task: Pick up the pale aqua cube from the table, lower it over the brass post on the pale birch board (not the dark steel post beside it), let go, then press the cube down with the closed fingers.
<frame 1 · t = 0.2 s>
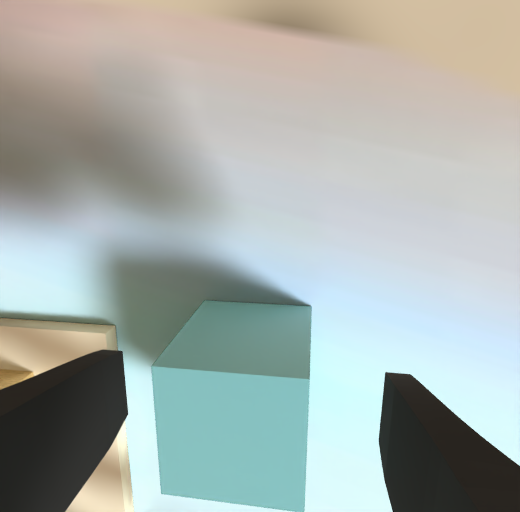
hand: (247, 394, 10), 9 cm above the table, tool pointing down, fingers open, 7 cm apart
brass post: (29, 380, 23), resting on birch board
birch board: (38, 436, 24), on the table
pale aqua cube: (256, 352, 20), on the table
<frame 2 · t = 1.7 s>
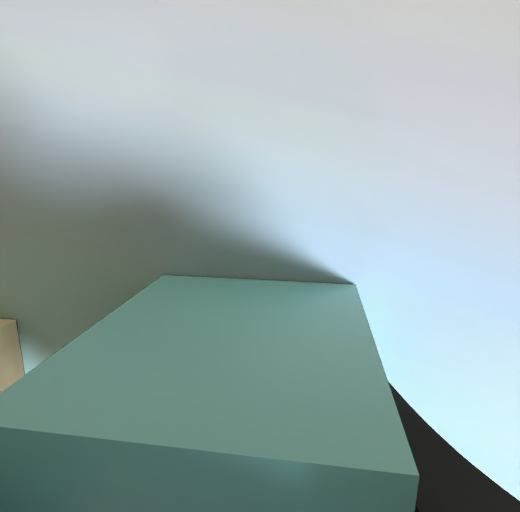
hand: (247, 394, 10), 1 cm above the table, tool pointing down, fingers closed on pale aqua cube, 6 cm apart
pale aqua cube: (255, 366, 11), on the table, touching gripper
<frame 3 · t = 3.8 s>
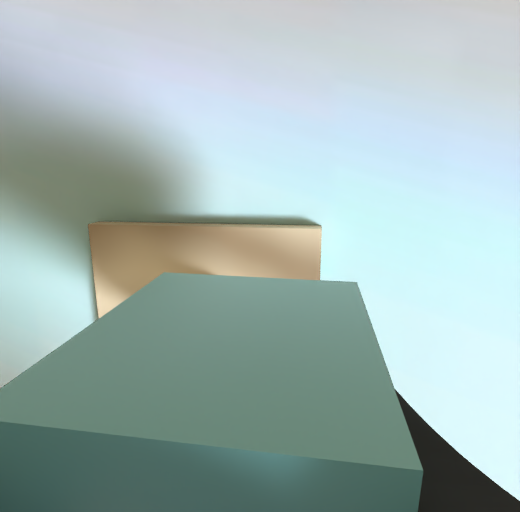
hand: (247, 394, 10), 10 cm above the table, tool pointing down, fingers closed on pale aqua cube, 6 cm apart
birch board: (210, 361, 21), on the table
pale aqua cube: (256, 364, 11), point 9 cm above the table, touching gripper
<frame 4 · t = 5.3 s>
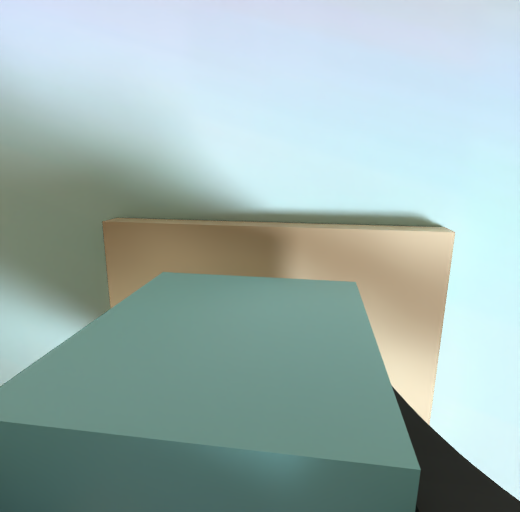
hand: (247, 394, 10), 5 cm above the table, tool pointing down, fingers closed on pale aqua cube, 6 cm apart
birch board: (267, 413, 15), on the table
pale aqua cube: (255, 364, 11), point 3 cm above the table, touching gripper
when the fingers open (3 cm above the table, at t = 6.3 s): pale aqua cube stays where it is, resting on birch board.
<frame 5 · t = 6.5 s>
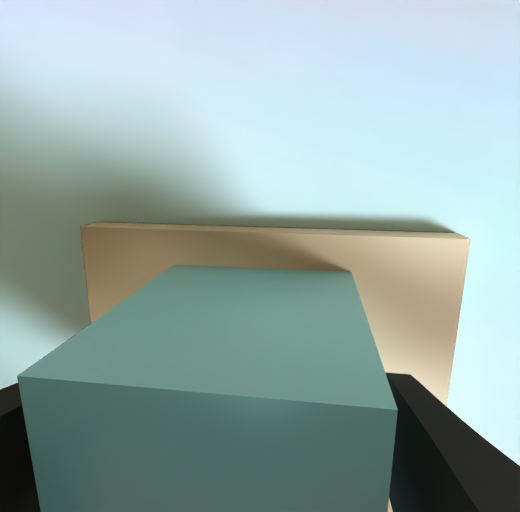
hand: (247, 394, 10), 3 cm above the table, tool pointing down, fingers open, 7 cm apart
birch board: (263, 433, 14), on the table
pale aqua cube: (259, 349, 12), point 1 cm above the table, touching birch board
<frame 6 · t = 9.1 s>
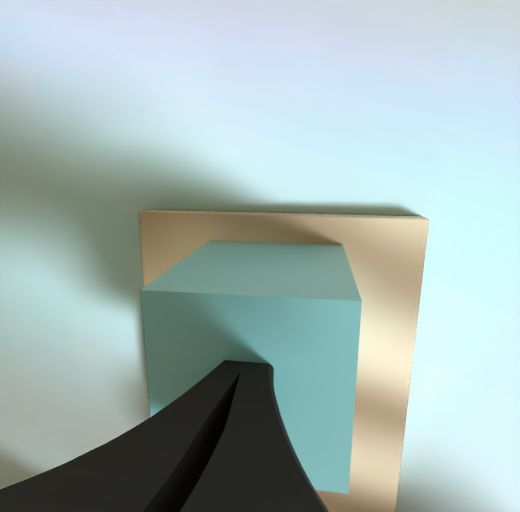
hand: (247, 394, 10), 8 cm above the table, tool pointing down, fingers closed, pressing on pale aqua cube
birch board: (275, 375, 18), on the table
pale aqua cube: (274, 305, 16), point 1 cm above the table, touching birch board, gripper
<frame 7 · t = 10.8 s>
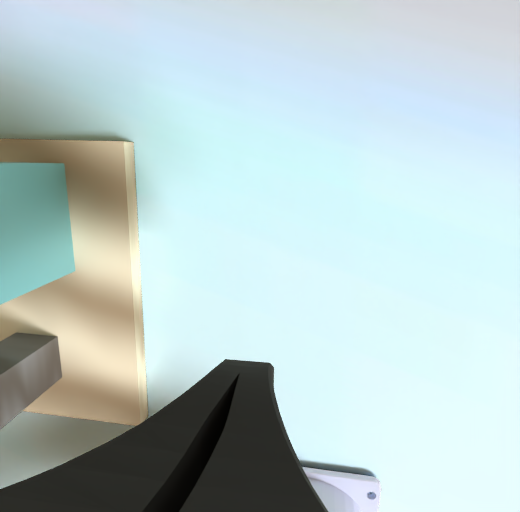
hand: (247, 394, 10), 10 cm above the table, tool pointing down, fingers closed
birch board: (43, 284, 22), on the table
pale aqua cube: (21, 216, 20), point 1 cm above the table, touching birch board
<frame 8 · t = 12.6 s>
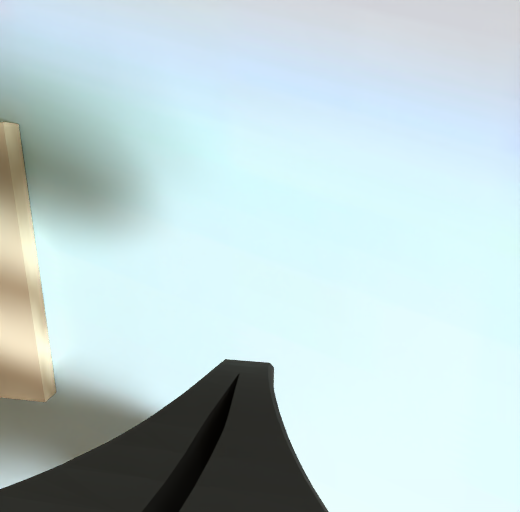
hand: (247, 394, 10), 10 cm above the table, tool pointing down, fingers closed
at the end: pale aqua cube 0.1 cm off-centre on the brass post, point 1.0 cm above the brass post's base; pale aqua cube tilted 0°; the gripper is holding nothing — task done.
